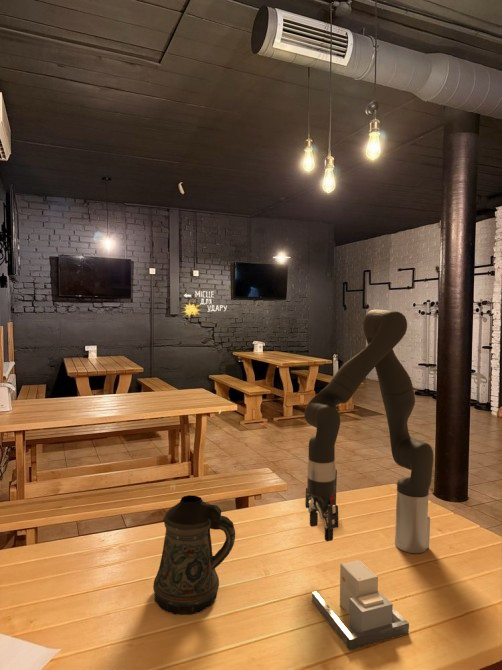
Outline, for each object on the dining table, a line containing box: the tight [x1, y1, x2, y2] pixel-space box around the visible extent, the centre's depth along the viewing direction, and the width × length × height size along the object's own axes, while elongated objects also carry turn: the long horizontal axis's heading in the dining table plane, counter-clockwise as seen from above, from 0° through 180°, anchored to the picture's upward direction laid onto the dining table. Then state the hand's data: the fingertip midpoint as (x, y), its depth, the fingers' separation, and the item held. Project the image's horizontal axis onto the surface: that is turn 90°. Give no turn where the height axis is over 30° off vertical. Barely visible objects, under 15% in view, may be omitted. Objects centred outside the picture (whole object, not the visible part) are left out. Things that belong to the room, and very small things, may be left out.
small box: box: [339, 559, 379, 615], centre depth 110 cm, size 8×6×10 cm
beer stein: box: [152, 495, 236, 616], centre depth 116 cm, size 16×19×25 cm
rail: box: [311, 590, 410, 652], centre depth 108 cm, size 15×17×2 cm
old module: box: [348, 590, 394, 634], centre depth 104 cm, size 8×5×8 cm, turn 110°
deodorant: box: [325, 468, 338, 515], centre depth 165 cm, size 6×6×15 cm
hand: (320, 532), depth 125 cm, fingers open, 8 cm apart
